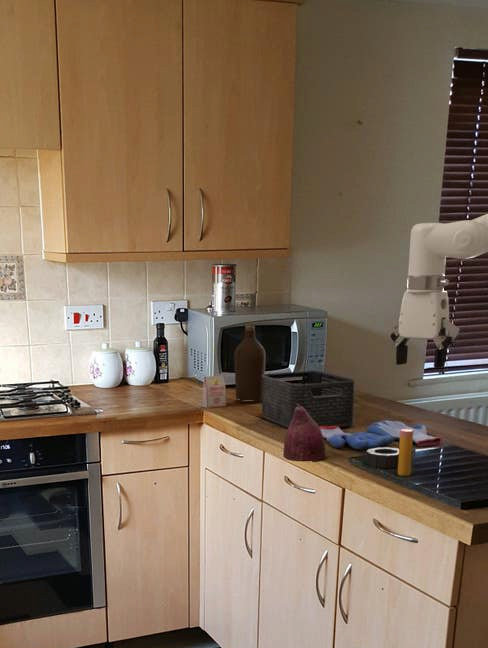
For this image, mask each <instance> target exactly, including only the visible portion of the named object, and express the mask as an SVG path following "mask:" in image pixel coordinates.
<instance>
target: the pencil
mask: <svg viewBox="0 0 488 648" xmlns="http://www.w3.org/2000/svg"><path fill="white" fill-rule="evenodd" d="M413 443H414V442H413V430H411V429H402V430H400V440H399V445H398V449H399V459H398V467H397V475H398V476H400V477H401V476H402V477H408V476H410V475H411V471H412V459H413V458H412V457H413Z"/></svg>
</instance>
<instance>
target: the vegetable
mask: <svg viewBox="0 0 488 648" xmlns="http://www.w3.org/2000/svg"><path fill="white" fill-rule="evenodd" d="M326 447H327V446H326V441H325V439H324V437H323V435H322V432H321V430H320V428H319V426H318V425H317V423H316V422H315V421H314V420H313V419H312V418H311V417H310V415H309V414H308V413H307V411H306V410H305V409H304V408H303V407H302V406H300V405H298V404H297V407H296V408H295V411H294V416H293V418H292V421H291V423H290V426H289V428H287V431H286V433H285V437H284V444H283V458H284V459H286V460H287V461H290V462H291V461H292V462H302V463H303V462H305V463H306V462H315V461H322V460H325V458H326V455H327V454H326V453H327V449H326Z"/></svg>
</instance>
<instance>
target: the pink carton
mask: <svg viewBox="0 0 488 648" xmlns="http://www.w3.org/2000/svg"><path fill="white" fill-rule="evenodd" d="M226 391H227V389H226V383H225V376H224V375H210V376H203V384H202V407H203V408H205V409H212V408H225V407H227V405H226V404H227V400H226V398H227V397H226V396H227V395H226V394H227V393H226ZM203 403H204V404H203ZM222 403H226V404H222ZM205 404H206V405H205ZM209 404H214V405H209Z"/></svg>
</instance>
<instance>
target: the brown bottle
mask: <svg viewBox="0 0 488 648" xmlns="http://www.w3.org/2000/svg"><path fill="white" fill-rule="evenodd" d="M255 328H256V326H255V325H245V326H244V329H245V330H244V338H243V339H242V341H241V342H240V343H239V344H238V345H237V346H236V348H235V351H234V354H233V363H234V381H235V383H234V384H235V401H236V403H238V404H239V403H240V404H259V403H262V375H264V374H266V361H267V359H266V358H267V354H266V350H265V348H264V346H263V345H262V344H261V343H260V342H259V341H258V340H257V338H256V330H255ZM236 398H237V399H240V400H237V399H236ZM260 399H261V400H260ZM243 400H254V401H243Z"/></svg>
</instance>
